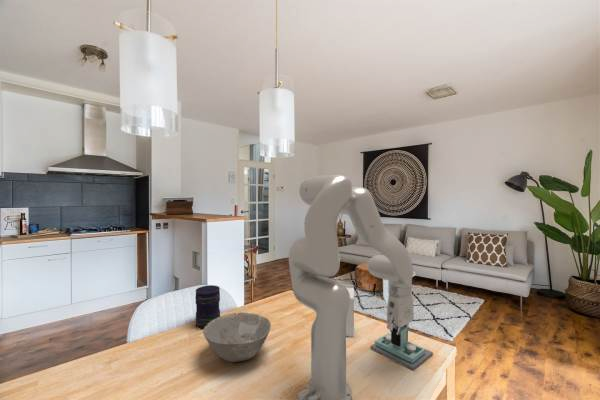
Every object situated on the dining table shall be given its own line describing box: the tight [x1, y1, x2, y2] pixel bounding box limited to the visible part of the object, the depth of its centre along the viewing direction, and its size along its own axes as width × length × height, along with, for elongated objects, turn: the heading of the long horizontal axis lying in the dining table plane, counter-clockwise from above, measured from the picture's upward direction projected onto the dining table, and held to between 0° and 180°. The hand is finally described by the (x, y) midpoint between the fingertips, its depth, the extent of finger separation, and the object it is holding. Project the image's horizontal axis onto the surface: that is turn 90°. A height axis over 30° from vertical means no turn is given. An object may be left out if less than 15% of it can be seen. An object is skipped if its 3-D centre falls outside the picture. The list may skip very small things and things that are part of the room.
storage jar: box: [194, 285, 221, 330], centre depth 117 cm, size 10×10×15 cm
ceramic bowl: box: [202, 312, 272, 363], centre depth 94 cm, size 22×23×10 cm
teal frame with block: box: [374, 326, 426, 363], centre depth 95 cm, size 9×14×7 cm, turn 40°
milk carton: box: [342, 283, 355, 338], centre depth 110 cm, size 7×7×19 cm
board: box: [369, 334, 434, 372], centre depth 96 cm, size 13×16×4 cm
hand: (399, 341), depth 96 cm, fingers closed on teal frame with block, 4 cm apart
